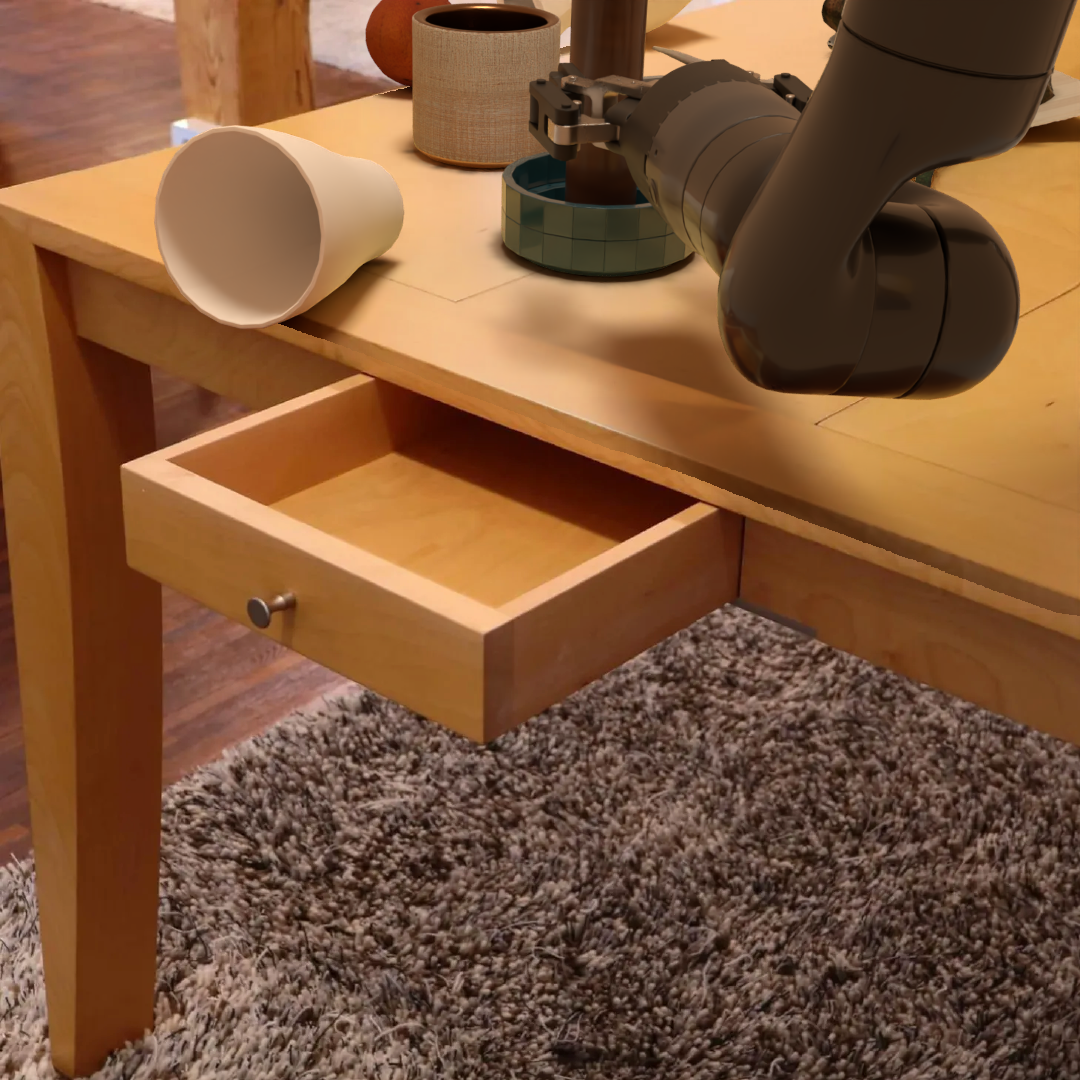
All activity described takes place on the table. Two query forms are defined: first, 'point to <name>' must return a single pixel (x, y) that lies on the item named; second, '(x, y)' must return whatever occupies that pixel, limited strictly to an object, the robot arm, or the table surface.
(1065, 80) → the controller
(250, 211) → the cup
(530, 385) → the table surface
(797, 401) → the table surface
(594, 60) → the rolling pin
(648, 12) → the vase
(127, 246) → the table surface
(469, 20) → the planter
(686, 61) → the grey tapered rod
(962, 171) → the table surface
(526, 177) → the bowl
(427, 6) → the fruit
